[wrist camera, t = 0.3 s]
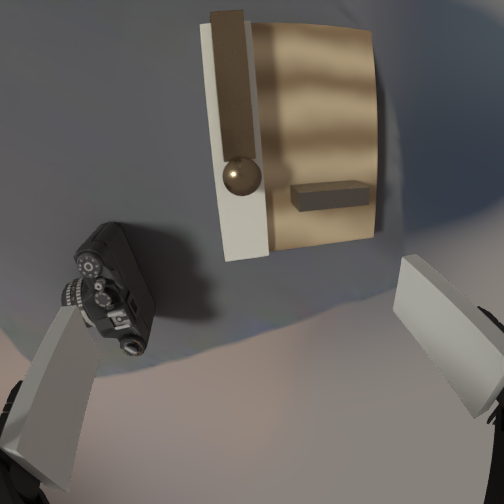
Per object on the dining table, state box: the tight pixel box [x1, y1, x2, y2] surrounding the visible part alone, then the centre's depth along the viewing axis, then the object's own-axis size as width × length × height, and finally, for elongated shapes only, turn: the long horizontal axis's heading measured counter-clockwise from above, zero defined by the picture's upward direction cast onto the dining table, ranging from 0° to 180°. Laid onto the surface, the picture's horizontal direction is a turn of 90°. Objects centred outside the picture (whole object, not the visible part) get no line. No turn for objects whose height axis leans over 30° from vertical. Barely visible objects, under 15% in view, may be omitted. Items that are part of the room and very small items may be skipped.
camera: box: [61, 222, 155, 356], centre depth 34 cm, size 14×11×10 cm
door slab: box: [251, 23, 378, 252], centre depth 33 cm, size 26×14×3 cm, turn 5°
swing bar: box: [210, 10, 262, 196], centre depth 26 cm, size 18×4×3 cm, turn 5°
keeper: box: [290, 180, 370, 212], centre depth 32 cm, size 2×8×4 cm, turn 95°
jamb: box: [200, 21, 269, 262], centre depth 30 cm, size 26×5×6 cm, turn 5°
